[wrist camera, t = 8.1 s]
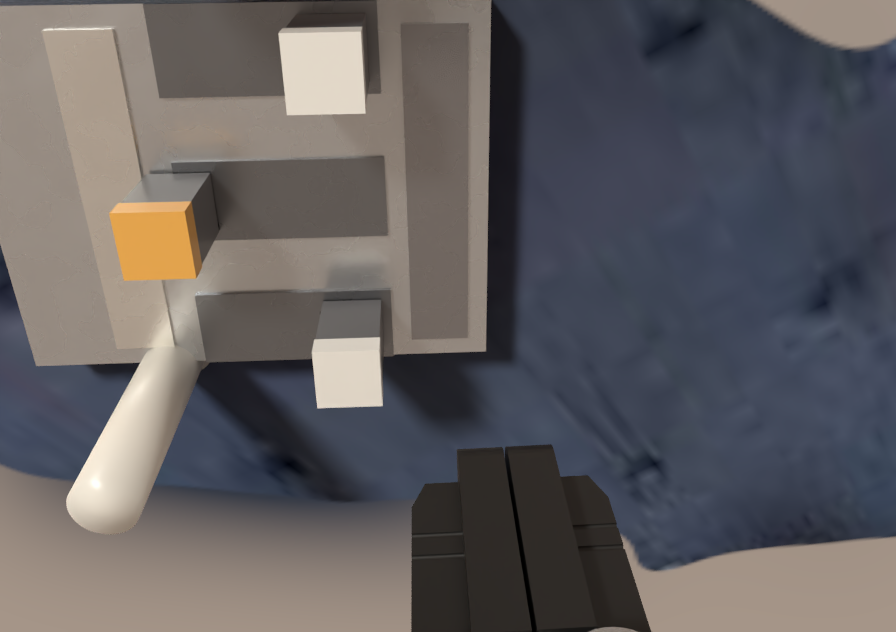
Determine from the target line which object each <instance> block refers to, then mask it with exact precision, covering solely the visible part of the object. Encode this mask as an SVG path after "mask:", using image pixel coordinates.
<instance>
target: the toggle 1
mask: <svg viewBox="0 0 896 632" xmlns="http://www.w3.org/2000/svg"><path fill="white" fill-rule="evenodd" d="M109 216H110V220H111V225H112V229H113V234H114V238H115V243H116V247H117V252H118V256H119V261H120V265H121V270H122V274H123V279H124V281H132V280H167V279H196V278H197V277H198V275H199V273H200V271H201V269H202V264H203V262H204V260H205V258H206V256H207V254H208V252H209V250H210V248H211V246H212V245H213V243H214V241H215V239H216V237H217V235H218V233H219V227H218V221H217V214H216V208H215V201H214V195H213V188H212V182H211V175H210V173H178V174H146V175H145V176H144V177H143V178H142V179H141V180H140V181H139V183H138V184H137V185H136V186H135V187H134V188H133V189H132V191H131V192H130V193H129V194H128V195H127V196H126V197H125V198H124V200H123V201H122V202H121V203H118V204H117V205H116V206H115V207H114V208H113V209H112V210H111V212H110V213H109Z"/></svg>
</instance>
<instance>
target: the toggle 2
mask: <svg viewBox="0 0 896 632" xmlns="http://www.w3.org/2000/svg"><path fill="white" fill-rule="evenodd" d="M278 35H279V44H280V54H281V63H282V73H283V82H284V92H285V102H286V111H287V115H325V114H366V109H367V94H368V88H369V67H368V49H367V31H366V13H347V14H296V15H295V16H294V18H293V19H292V20H291V21H290V23H289V24H288V25H287V26H286V28H282V29H281V31H280V32H279V33H278Z"/></svg>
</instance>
